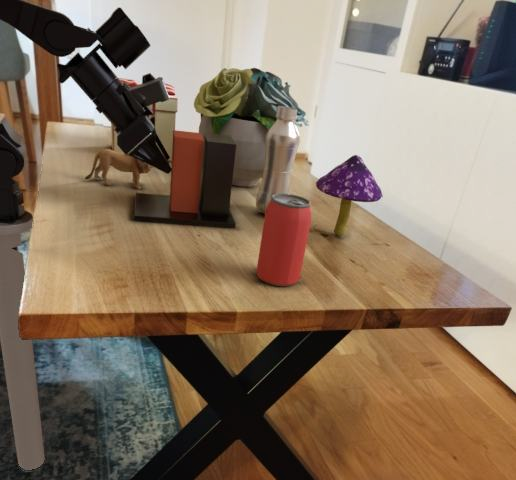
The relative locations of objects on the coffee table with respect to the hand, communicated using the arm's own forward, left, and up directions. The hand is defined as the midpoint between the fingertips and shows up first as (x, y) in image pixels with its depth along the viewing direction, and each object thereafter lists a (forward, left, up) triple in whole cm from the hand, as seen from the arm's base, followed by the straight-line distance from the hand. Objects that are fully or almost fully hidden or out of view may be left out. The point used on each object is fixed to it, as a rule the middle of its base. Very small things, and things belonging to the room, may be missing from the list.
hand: (169, 165), depth 92 cm
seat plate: (+3, +1, -8) cm, 9 cm away
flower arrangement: (+13, +29, -9) cm, 33 cm away
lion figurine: (-11, +14, -9) cm, 20 cm away
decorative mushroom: (+33, -1, -9) cm, 34 cm away
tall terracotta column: (+3, 0, -7) cm, 8 cm away
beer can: (+20, -25, -9) cm, 33 cm away
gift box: (-14, +45, -9) cm, 48 cm away
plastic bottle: (+20, +7, -9) cm, 23 cm away
